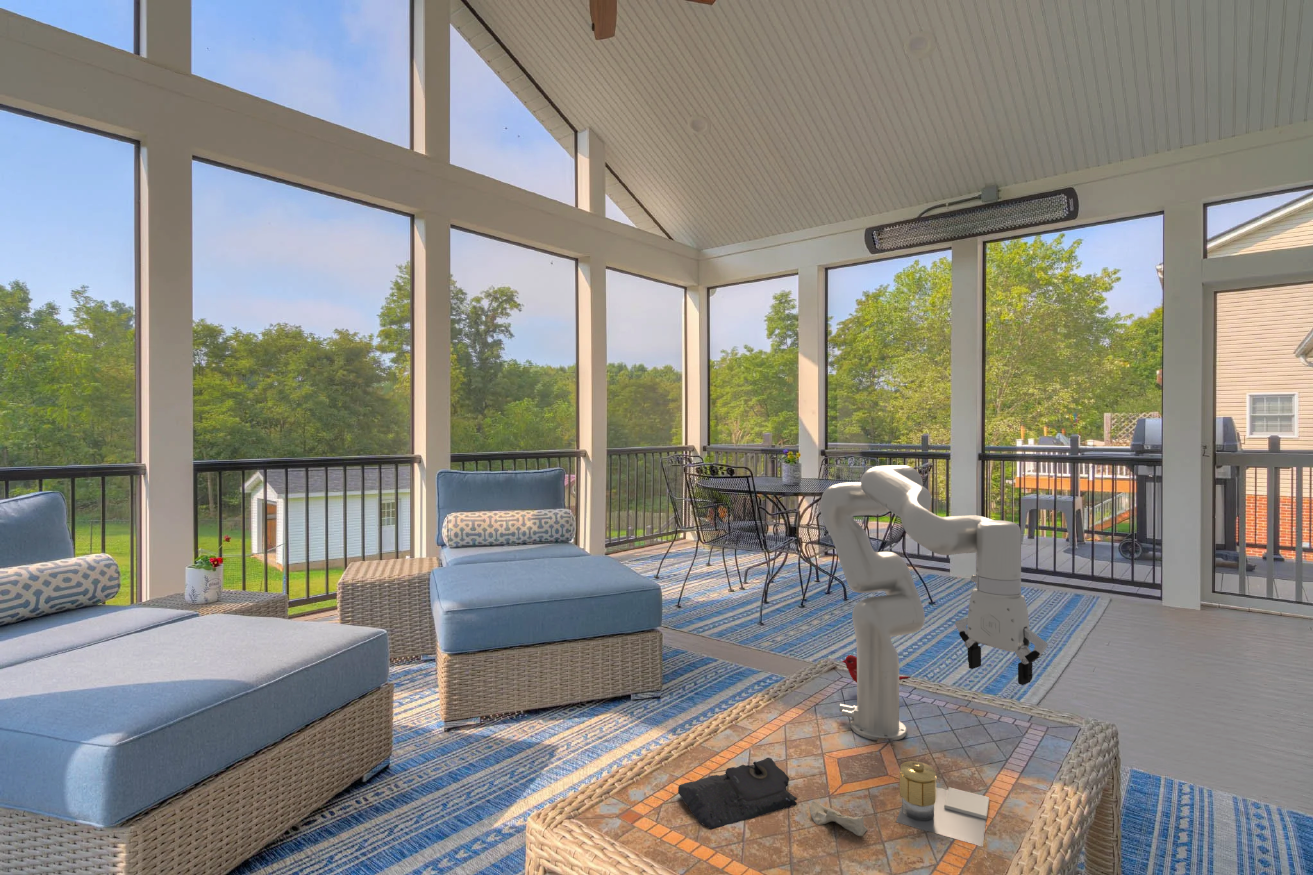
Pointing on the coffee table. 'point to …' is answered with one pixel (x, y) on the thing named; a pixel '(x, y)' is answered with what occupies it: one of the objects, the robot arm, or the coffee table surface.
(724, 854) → the coffee table surface
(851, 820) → the beige bone fragment
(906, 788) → the gold lidded jar
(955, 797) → the pad
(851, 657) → the decorative bird figurine
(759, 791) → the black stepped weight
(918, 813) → the grey knob
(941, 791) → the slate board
